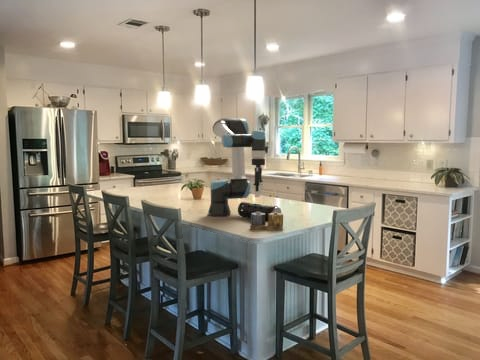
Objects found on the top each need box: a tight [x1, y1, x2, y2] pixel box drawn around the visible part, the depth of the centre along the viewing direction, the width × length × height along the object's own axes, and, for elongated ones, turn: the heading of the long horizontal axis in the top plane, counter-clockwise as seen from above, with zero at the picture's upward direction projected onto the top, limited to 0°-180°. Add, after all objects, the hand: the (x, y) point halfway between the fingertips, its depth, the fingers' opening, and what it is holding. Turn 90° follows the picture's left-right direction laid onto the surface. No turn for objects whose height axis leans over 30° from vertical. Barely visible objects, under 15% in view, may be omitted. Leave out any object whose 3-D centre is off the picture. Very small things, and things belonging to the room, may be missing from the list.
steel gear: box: [250, 212, 267, 226], centre depth 225 cm, size 8×8×6 cm
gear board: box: [250, 212, 284, 231], centre depth 225 cm, size 18×11×9 cm, turn 83°
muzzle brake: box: [237, 201, 282, 222], centre depth 246 cm, size 10×28×10 cm, turn 51°
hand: (258, 195), depth 224 cm, fingers open, 13 cm apart
